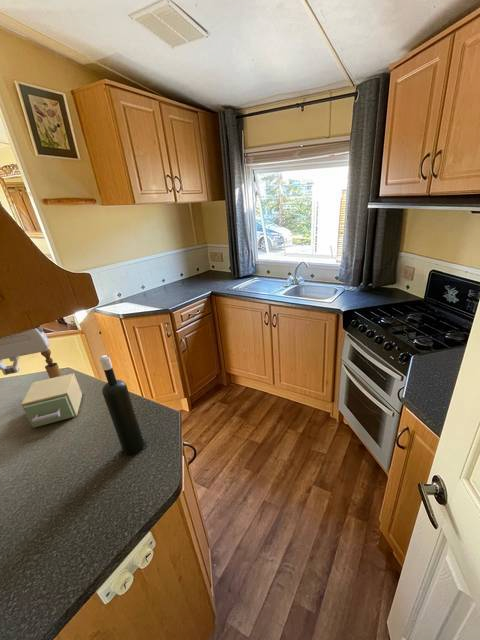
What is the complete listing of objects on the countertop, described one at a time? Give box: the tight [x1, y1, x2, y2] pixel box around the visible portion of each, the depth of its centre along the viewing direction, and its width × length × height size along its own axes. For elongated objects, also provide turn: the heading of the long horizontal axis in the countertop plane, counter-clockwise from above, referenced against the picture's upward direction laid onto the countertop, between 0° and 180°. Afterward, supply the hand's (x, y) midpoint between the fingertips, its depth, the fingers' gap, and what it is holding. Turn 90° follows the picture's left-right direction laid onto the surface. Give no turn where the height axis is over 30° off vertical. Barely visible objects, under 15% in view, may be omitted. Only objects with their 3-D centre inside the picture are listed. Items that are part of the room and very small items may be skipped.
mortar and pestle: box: [40, 348, 63, 379], centre depth 112 cm, size 7×6×18 cm
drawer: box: [22, 396, 74, 428], centre depth 98 cm, size 18×11×8 cm, turn 25°
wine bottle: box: [98, 354, 145, 456], centre depth 78 cm, size 6×6×30 cm
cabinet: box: [20, 372, 83, 429], centre depth 101 cm, size 15×13×10 cm
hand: (12, 372), depth 77 cm, fingers closed
